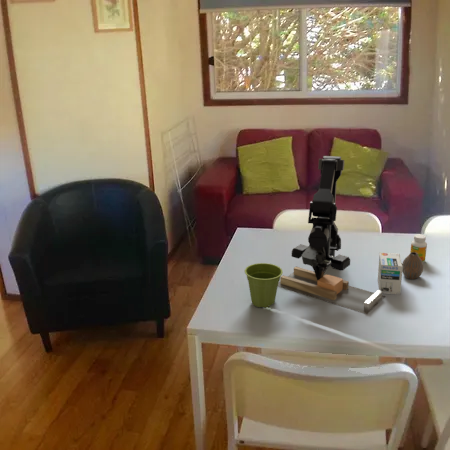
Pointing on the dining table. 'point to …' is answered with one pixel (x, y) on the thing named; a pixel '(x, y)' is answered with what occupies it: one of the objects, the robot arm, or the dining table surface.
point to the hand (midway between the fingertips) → (319, 280)
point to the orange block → (331, 283)
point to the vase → (412, 266)
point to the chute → (326, 290)
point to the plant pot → (263, 283)
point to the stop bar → (372, 300)
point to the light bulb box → (390, 273)
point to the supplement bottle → (419, 246)
